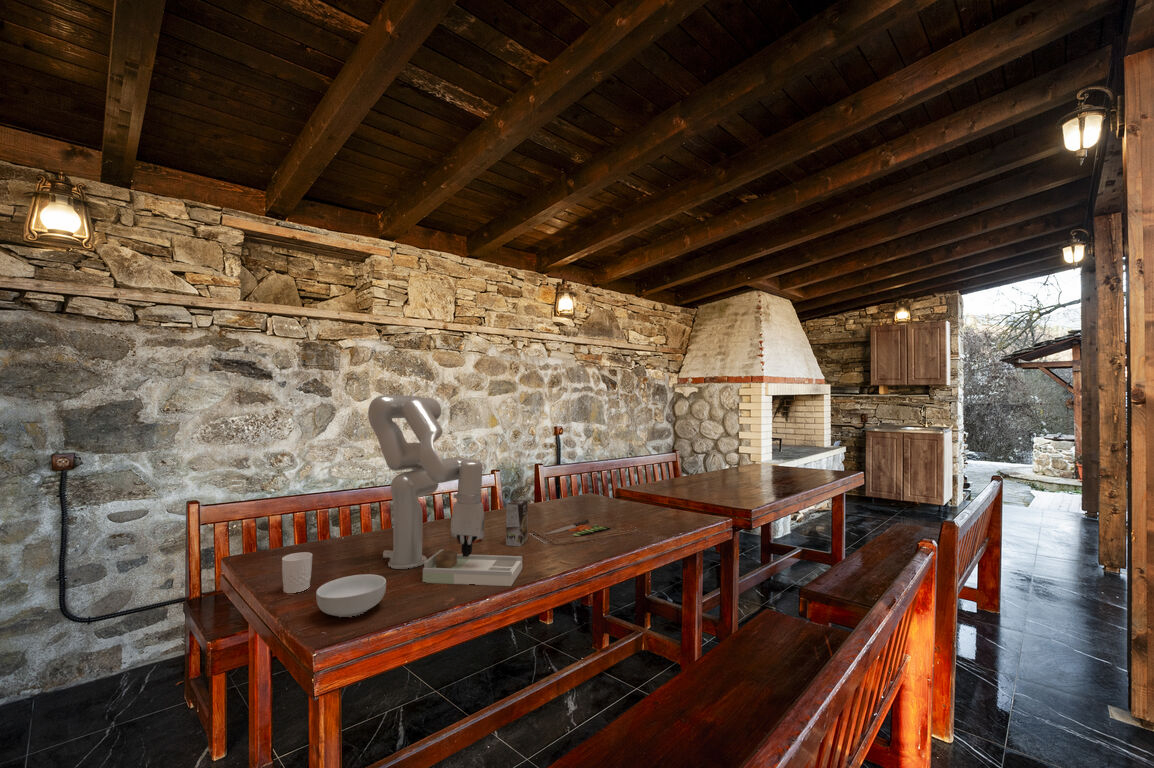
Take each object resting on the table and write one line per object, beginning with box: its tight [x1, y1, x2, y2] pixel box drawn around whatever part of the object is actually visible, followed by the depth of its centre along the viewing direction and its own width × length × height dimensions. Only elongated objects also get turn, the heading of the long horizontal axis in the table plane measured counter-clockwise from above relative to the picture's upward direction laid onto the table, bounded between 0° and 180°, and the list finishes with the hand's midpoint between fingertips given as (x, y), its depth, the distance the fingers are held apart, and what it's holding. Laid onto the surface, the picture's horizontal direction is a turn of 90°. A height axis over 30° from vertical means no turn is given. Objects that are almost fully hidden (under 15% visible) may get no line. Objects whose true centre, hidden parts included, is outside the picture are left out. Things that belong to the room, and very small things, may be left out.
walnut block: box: [436, 549, 458, 568], centre depth 154 cm, size 5×5×4 cm
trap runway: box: [422, 549, 523, 587], centre depth 153 cm, size 28×15×6 cm, turn 83°
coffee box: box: [505, 499, 529, 547], centre depth 189 cm, size 9×6×16 cm
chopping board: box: [528, 518, 638, 546], centre depth 205 cm, size 45×27×3 cm, turn 119°
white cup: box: [281, 551, 313, 593], centre depth 142 cm, size 8×8×10 cm
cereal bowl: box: [315, 573, 387, 618], centre depth 127 cm, size 17×17×7 cm
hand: (466, 555), depth 154 cm, fingers closed
